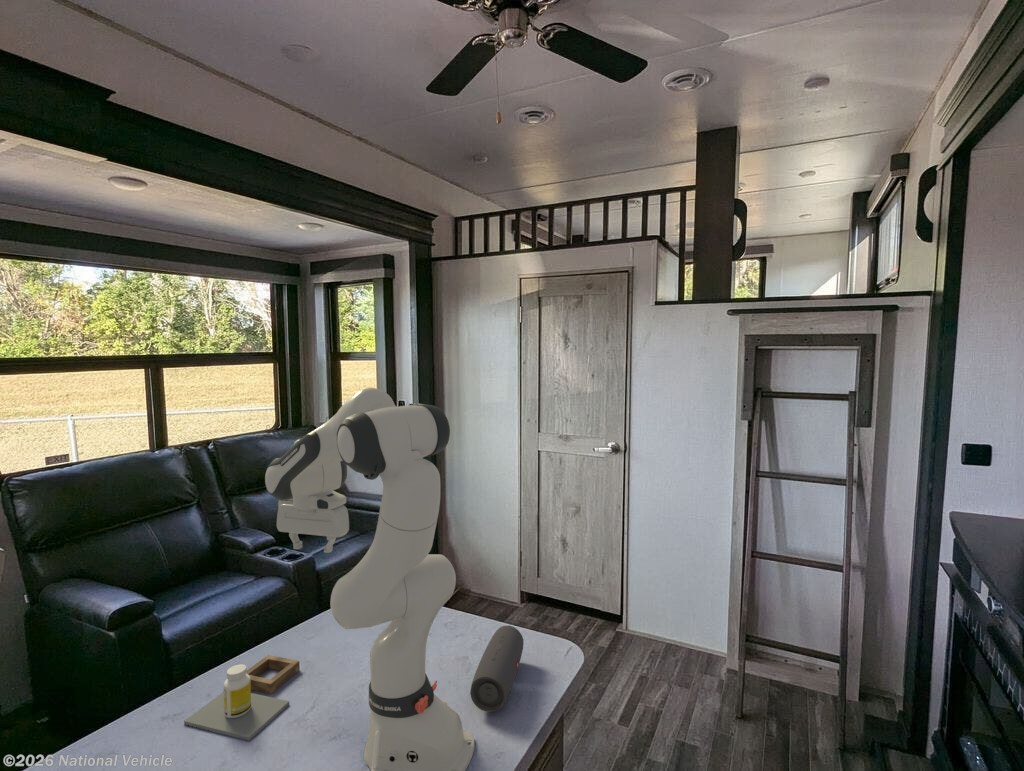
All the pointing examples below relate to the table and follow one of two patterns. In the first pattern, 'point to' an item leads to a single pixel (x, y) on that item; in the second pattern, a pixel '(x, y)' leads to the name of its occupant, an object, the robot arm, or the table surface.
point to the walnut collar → (270, 685)
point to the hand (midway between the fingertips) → (313, 550)
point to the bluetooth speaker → (497, 669)
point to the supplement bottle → (237, 692)
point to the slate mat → (241, 726)
